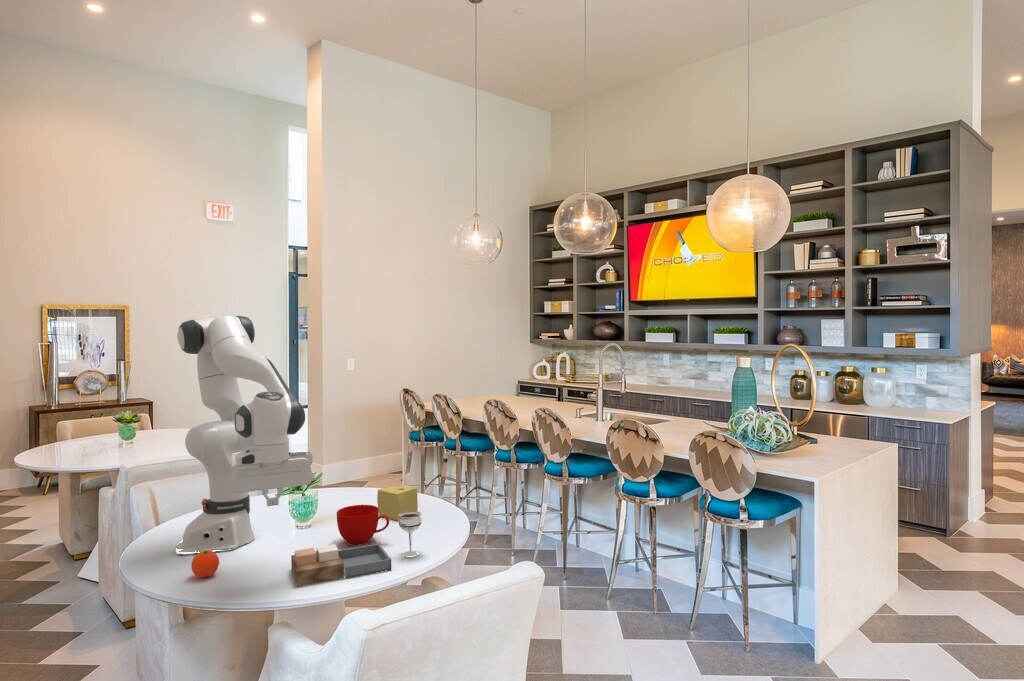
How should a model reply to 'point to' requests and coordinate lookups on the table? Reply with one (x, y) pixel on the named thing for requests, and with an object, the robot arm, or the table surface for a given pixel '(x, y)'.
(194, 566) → the clementine
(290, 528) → the table surface
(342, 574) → the walnut block
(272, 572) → the table surface
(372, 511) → the ceramic cup
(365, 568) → the tray
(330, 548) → the tile
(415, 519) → the wineglass
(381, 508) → the cheese
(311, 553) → the tile
